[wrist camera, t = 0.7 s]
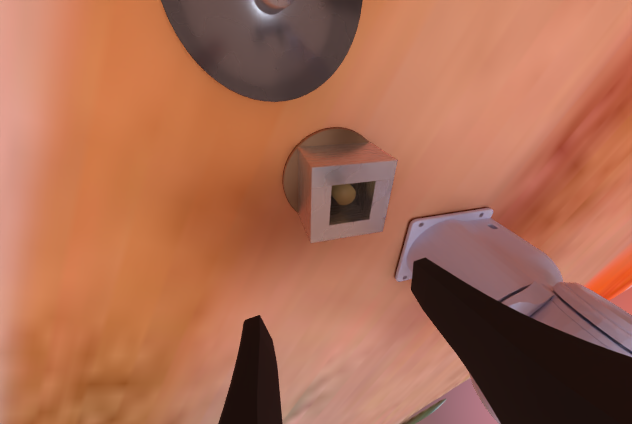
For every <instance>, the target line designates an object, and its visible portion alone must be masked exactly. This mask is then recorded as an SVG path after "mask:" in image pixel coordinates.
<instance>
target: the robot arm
mask: <svg viewBox="0 0 632 424" xmlns="http://www.w3.org/2000/svg"><path fill="white" fill-rule="evenodd" d="M492 214H493V210H492V209H491V208H483V209H477V210H471V211H464V212H458V213H451V214H445V215H438V216H432V217H426V218H419V219H414V220H412V221H411V222H410V225H409V228H408V232H407V236H406V239H405V243H404V246H403V250H402V254H401V257H400V261H399V265H398V268H397V272H396V275H395V279H396V280H397V281H398V282H400V281H405V280H409V279H412V284H411V290H412V292H413V294H414V296H415V297H416V299H417V301H418V302H419V304H420V306H421V307H422V309H423V310H424V312H425V313H426V314H427V316H428V317H429V318H430V320H431V321H432V322H433V324H434V325H435V326H436V328H437V329H438V330H439V332H440V333H441V334H442V335H443V337H444V338H445V339H446V341H447V342H448V343H449V345H450V346H451V347H452V349H453V350H454V351H455V352H456V354H457V355H458V356H459V358H460V359H461V361H462V362H463V364H464V365H465V366H466V368H467V370H468V371H469V374H470V377H471V380H472V383H473V386H474V389H475V391H476V393H477V395H478V396H479V398H480V400H481V401H482V403H483V404H484V406H485V407H486V409H487V410H488V411H489V413H490V414H491V415H492V416H493V418H494V419H495V420H496V421H497V422H498V423H499V424H632V315H630V314H629V313H627V312H626V311H624V310H623V309H621V308H619V307H618V306H616V305H615V304H613V303H611V302H610V301H608V300H607V299H605V298H603V297H602V296H600V295H598V294H597V293H595V292H593V291H592V290H590V289H588V288H586V287H584V286H582V285H580V284H578V283H565V282H563V279H562V275H561V273H560V271H559V269H558V268H557V266H556V265H555V263H554V262H553V261H552V260H551V259H550V258H549V257H548V256H547V255H546V254H545V253H544V252H542V251H541V250H539V249H538V248H536V247H535V246H533V245H531V244H530V243H528V242H527V241H525V240H524V239H522V238H521V237H519V236H518V235H516V234H515V233H513V232H511V231H510V230H508V229H507V228H505V227H504V226H502V225H501V224H499V223H498V222H496V221H494V220H493V219H491V216H492ZM218 424H282V414H281V402H280V391H279V379H278V368H277V361H276V356H275V351H274V345H273V340H272V338H271V336H270V334H269V332H268V330H267V328H266V326H265V324H264V322H263V320H262V318H261V317H260V315H258V316H255V317H252V318H249V319H247V320H245V321H244V324H243V330H242V336H241V342H240V347H239V351H238V356H237V360H236V364H235V368H234V372H233V376H232V380H231V384H230V387H229V391H228V394H227V397H226V401H225V404H224V408H223V411H222V414H221V417H220V420H219V423H218Z"/></svg>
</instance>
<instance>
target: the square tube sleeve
mask: <svg viewBox="0 0 632 424" xmlns="http://www.w3.org/2000/svg"><path fill="white" fill-rule="evenodd" d="M397 161H398V160H397V159H395V158H394V157H392V156H391V155H389V154H388V153H386V152H385V151H383V150H382V149H380V148H379V147H377V146H376V145H374V144H373V143H371V142H367V143H351V144H336V145H321V146H306V147H298V209H299V217H300V219H301V221H302V224H303V226H304V229H305V231H306V233H307V236H308V238H309V241H310V243H315V242H321V241H327V240H333V239H339V238H345V237H351V236H357V235H363V234H370V233H376V232H382V231H383V227H384V223H385V218H386V213H387V208H388V204H389V199H390V194H391V189H392V185H393V180H394V175H395V170H396V166H397ZM342 184H350V185H351V186H352V187H353V188H354V189H355V191H356V196H355V199H354V200H353V201H352V202H351V203H350V204H348V205H340V204H338V203H337V202H336V200H335V199H334V197H331V190H332V186H333V185H342Z"/></svg>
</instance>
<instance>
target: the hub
mask: <svg viewBox="0 0 632 424" xmlns="http://www.w3.org/2000/svg"><path fill="white" fill-rule="evenodd" d="M161 2H162V4H163V7H164V9H165V12H166V14H167V17H168V19H169V21H170V23H171V25H172V27H173V29H174V31H175V33H176V34H177V36H178V38H179V39H180V41H181V42H182V44H183V45H184V47H185V48H186V50H187V51H188V52H189V54H190V55H191V56H192V57H193V59H194V60H195V61H196V62H197V63H198V64H199V65H200V66H201V67H202V68H203V69H204V70H205V71H206V72H207V73H208V74H209V75H210V76H211V77H213V78H214V79H215V80H216V81H218V82H219V83H220V84H222V85H224V86H225V87H227V88H228V89H230V90H232V91H234V92H236V93H238V94H240V95H243V96H246V97H249V98H252V99H256V100H261V101H271V102H278V101H287V100H292V99H296V98H299V97H301V96H304V95H306V94H308V93H310V92H312V91H313V90H315V89H317V88H318V87H319V86H321V85H322V84H323V83H325V82H326V81H327V80H328V79H329V78H330V77H331V76H332V75H333V73H334V72H335V71H336V70H337V68H338V67H339V66H340V64H341V63H342V61H343V60H344V58H345V56H346V55H347V53H348V51H349V48H350V46H351V44H352V42H353V39H354V36H355V33H356V31H357V27H358V23H359V19H360V14H361V7H362V0H161Z"/></svg>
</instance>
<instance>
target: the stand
mask: <svg viewBox="0 0 632 424" xmlns="http://www.w3.org/2000/svg"><path fill="white" fill-rule="evenodd" d="M367 142H368V141H367V140H366V139H365V138H364V137H363V136H361V135H360V134H358V133H356V132H354V131H352V130H349V129H346V128H337V127H333V128H326V129H322V130H319V131H317V132H314V133H312V134H311V135H309V136H307V137H306V138H305V139H303V140H302V141H301V142H300V143H299V144H298V145H297V146H296V147H295V148H294V150H293V151H292V152H291V154H290V156H289V157H288V159H287V162H286V164H285V168H284V172H283V187H284V191H285V194H286V197H287V199H288V201H289V203H290V205H291V206H292V207H293V208H294V210H295V211H297V212H298V213H299V209H298V147H306V146H321V145H336V144H351V143H367ZM355 196H356V191H355V189H354V188H353V187H352V186H351V185H350V184H342V185H333V186H332V190H331V197H334V199H335V200H336V202H337V203H338V204H340V205H348V204H350V203H351V202H352V201H353V200H354V199H355Z"/></svg>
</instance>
